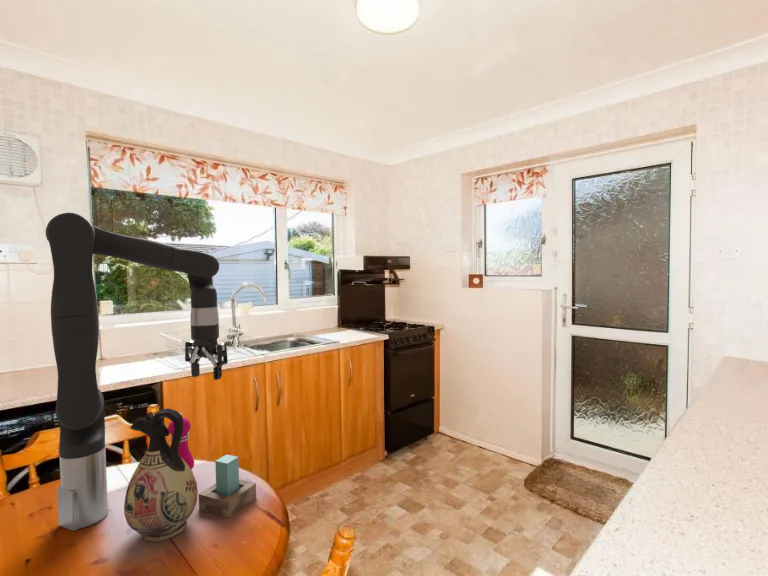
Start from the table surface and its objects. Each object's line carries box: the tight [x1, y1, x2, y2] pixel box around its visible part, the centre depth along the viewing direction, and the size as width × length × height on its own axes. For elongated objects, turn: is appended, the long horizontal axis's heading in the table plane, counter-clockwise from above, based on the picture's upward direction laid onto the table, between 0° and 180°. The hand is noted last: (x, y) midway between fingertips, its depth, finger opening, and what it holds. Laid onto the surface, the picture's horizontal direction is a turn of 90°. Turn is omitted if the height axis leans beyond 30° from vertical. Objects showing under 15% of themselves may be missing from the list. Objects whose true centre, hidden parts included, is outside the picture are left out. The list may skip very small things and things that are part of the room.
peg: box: [214, 454, 240, 497], centre depth 110 cm, size 4×4×12 cm
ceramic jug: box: [123, 408, 199, 543], centre depth 98 cm, size 17×15×30 cm
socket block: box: [198, 478, 257, 519], centre depth 110 cm, size 10×10×4 cm
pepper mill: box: [167, 412, 195, 474], centre depth 123 cm, size 7×7×20 cm
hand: (206, 377), depth 122 cm, fingers open, 8 cm apart
